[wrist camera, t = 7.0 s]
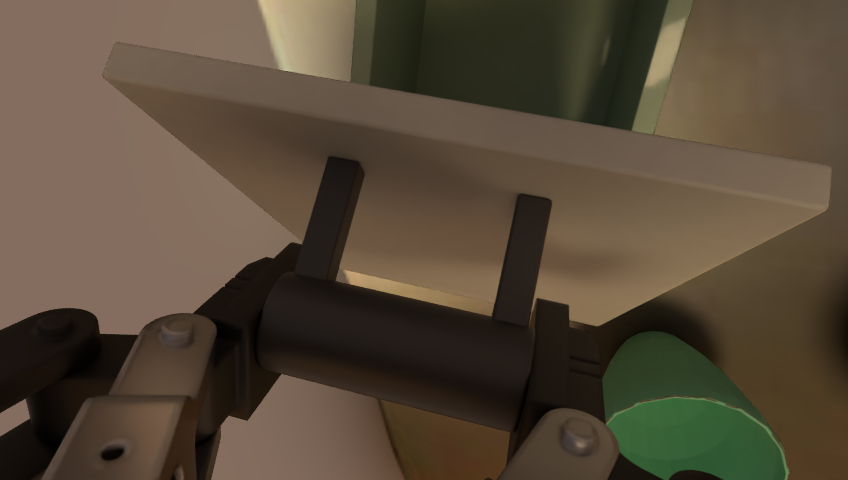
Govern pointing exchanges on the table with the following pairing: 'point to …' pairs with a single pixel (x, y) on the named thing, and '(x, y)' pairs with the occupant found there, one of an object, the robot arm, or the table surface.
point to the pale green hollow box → (527, 54)
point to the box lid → (455, 220)
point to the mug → (685, 414)
